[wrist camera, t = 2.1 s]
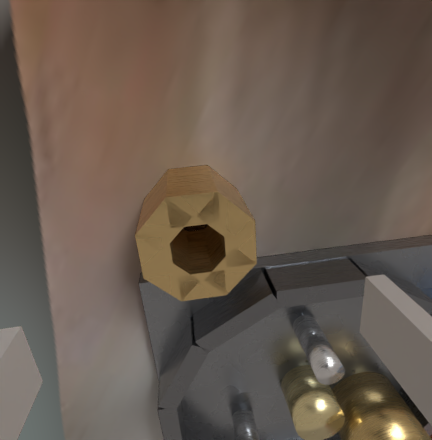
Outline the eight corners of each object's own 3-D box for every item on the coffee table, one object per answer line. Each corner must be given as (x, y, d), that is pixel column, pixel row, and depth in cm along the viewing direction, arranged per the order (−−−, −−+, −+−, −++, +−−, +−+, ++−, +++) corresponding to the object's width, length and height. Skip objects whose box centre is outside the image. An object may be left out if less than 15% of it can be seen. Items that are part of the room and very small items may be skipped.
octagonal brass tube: (139, 172, 22) (128, 201, 17) (234, 162, 23) (254, 187, 17) (154, 256, 25) (148, 305, 19) (239, 245, 25) (257, 290, 20)
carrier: (140, 272, 25) (128, 344, 18) (447, 232, 27) (540, 284, 20) (180, 473, 35) (182, 568, 28) (403, 433, 37) (455, 514, 30)
